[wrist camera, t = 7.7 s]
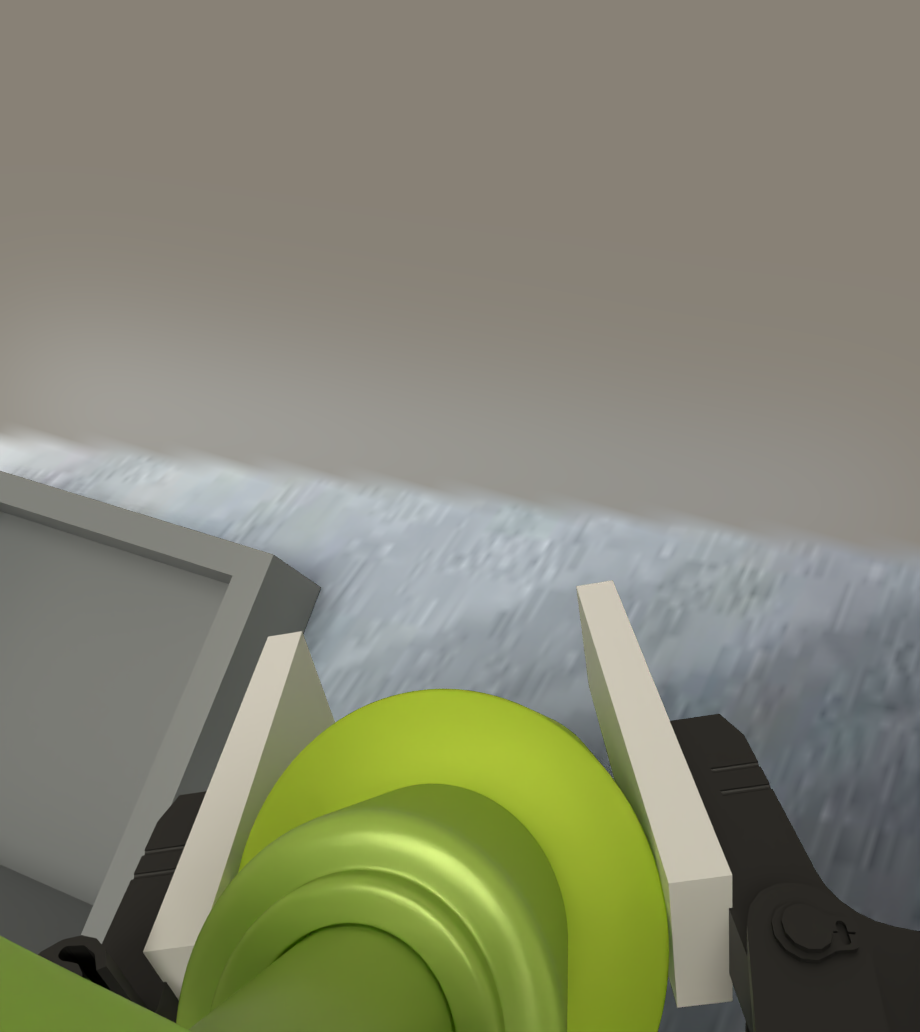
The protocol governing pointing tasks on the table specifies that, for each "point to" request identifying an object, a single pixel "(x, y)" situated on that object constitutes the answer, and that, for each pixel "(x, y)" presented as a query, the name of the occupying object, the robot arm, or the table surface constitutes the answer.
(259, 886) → the soap dispenser
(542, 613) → the table surface
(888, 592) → the table surface
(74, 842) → the crate
